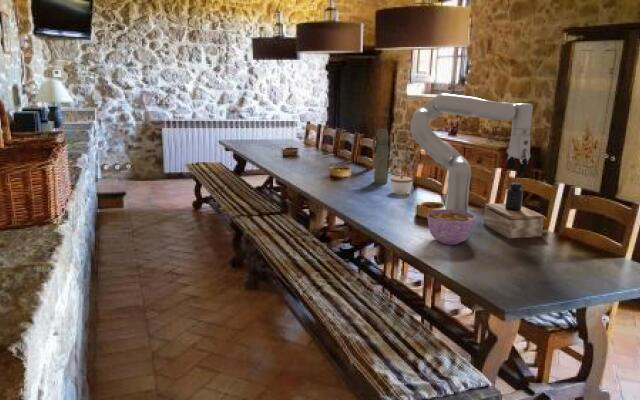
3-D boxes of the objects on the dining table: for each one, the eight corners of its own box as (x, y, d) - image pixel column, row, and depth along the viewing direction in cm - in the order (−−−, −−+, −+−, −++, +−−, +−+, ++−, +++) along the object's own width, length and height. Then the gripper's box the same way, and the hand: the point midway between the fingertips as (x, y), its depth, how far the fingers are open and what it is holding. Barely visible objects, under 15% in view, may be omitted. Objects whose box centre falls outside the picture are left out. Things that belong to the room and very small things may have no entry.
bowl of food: (438, 231, 227) (439, 206, 224) (481, 240, 215) (483, 214, 212) (416, 242, 212) (418, 216, 209) (461, 252, 200) (463, 224, 197)
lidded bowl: (413, 195, 295) (414, 177, 292) (391, 195, 295) (392, 177, 292) (409, 191, 307) (410, 173, 304) (389, 190, 307) (389, 173, 304)
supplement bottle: (507, 206, 232) (511, 181, 229) (522, 209, 228) (526, 183, 225) (502, 209, 227) (506, 183, 224) (517, 212, 223) (521, 185, 220)
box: (507, 238, 218) (509, 220, 216) (483, 223, 239) (484, 207, 237) (541, 236, 220) (543, 218, 218) (514, 222, 241) (516, 206, 239)
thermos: (392, 183, 329) (394, 129, 321) (375, 184, 325) (377, 130, 316) (385, 180, 337) (387, 128, 329) (369, 181, 333) (371, 128, 324)
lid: (509, 218, 216) (510, 216, 215) (485, 206, 237) (485, 203, 236) (543, 218, 218) (544, 215, 218) (516, 206, 239) (516, 203, 239)
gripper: (540, 134, 211) (535, 174, 215) (517, 129, 228) (513, 167, 232) (523, 134, 210) (519, 174, 214) (502, 129, 227) (498, 167, 231)
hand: (516, 170), depth 223 cm, fingers open, 9 cm apart
